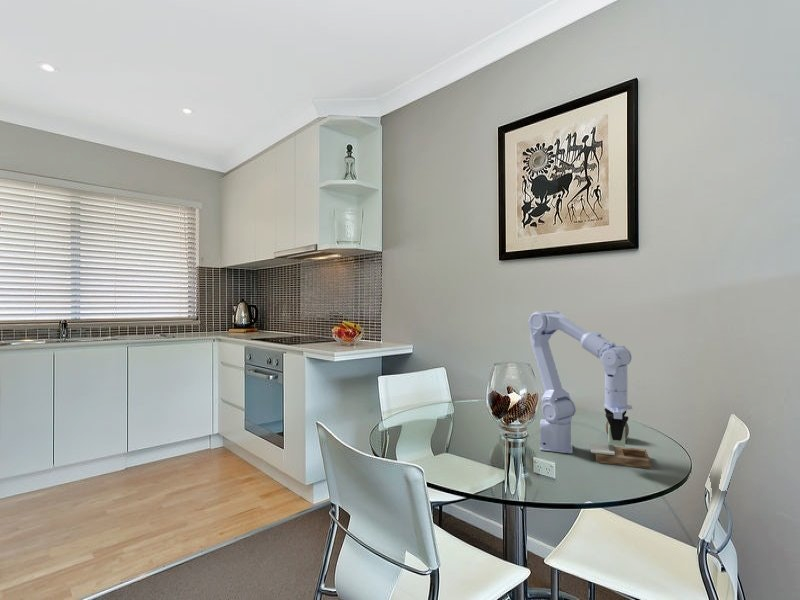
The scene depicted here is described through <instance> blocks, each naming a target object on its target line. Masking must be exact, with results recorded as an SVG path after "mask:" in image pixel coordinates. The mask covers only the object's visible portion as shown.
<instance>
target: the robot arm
mask: <svg viewBox="0 0 800 600" xmlns="http://www.w3.org/2000/svg"><path fill="white" fill-rule="evenodd" d="M527 324H528V325H527V326H528V328H529V342H530V344H531V348H532V352H533V356H534V358H535V359H534V360H535V362H536V363H535V364H536V365H537V370H538V373H539V375H540V376H539V377H540V379H541V383H542V386H543V389H544V393H543V395H542V397H541V398H540V400H541V414H542V416H543V418H544V419H543V418H541V419H540V420H539V421H540V422H539V423H540V424H539V425H540V426H539V443H540V444H539V450H541V451H546V452H554V453H563V454H573V443H572V420H573V418H572V417H573V416H575V414H576V411H577V408H576V404H575V402H574V401H573V400H572V398H571V396H570V393H569V392H567V391H566V390H565V389H563V386H562V383H561V380H560V376H559V374H558V370H557V367H556V363H555V360H554V356H553V353H552V350H551V346H550V344H549V343H550V342H549V340H550V339H551V337H552V336H553V335H554V334H555V333H556V332H557V331H561V332H563V333H565V334H566V335H568V336H570V337H571V338H573V339H575V340H577V341H578V342H580V343H581V344H580V345H581V347H582V349H584V350H585V351H586V352H588V353H590V354H591V355H593V356H594V357H596V358H598V359H599V360H600V363H601V365H602V366H603V372H604V404H603V407H604V412H605V418H606V421H608V422H609V425H610V429H611V435H612V439H613V440H619V441H621V439H622V435H623V430H624V427H625V424H626V422H627V423H628V420H629V416H626V415H627V411H628V410H633V406H632V405H631V404H628V365H629V364H630V363H631V362H632V354H631V351H630V350H629V349H628V348H627V347H626V346H624V345H616V342H614V341H610V340H609V339H606V338H605V337H603V336H602V333H600V332H597V331H596V332H595V331H590V332H588V331H586V330H584V329H583V328H581V327H580V326H579V325H578V324H576V322H573V321H572V320H571V319H569V318H567V316H566V314H563V313H561V312H560V311H558V310H556V309H555V310H549V311H548V310H547V311H534V312H533V313H531V315H530V317H529V318H528V320H527Z"/></svg>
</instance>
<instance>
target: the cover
mask: <svg viewBox="0 0 800 600" xmlns="http://www.w3.org/2000/svg"><path fill="white" fill-rule="evenodd" d="M607 441H608V440H607ZM614 446H615V445H609V441H608V442H607V443H605V442H595V441H589V447H590V449H589V450H590V453H592V454H595V453H599V454H608V455H615V452H614Z"/></svg>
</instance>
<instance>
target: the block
mask: <svg viewBox="0 0 800 600" xmlns="http://www.w3.org/2000/svg"><path fill="white" fill-rule="evenodd" d="M607 436H608V439H607V441H609V445H614V446H616V447H625V448H626V439H625V427H624V430H623V435H622V439H621V441H619V440H613V439H612V435H611V429H610V425H609V423H608V434H607Z"/></svg>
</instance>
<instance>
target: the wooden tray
mask: <svg viewBox="0 0 800 600" xmlns="http://www.w3.org/2000/svg"><path fill="white" fill-rule="evenodd" d="M614 452H615V455H608V454H599V453H594V455H595V463H601V464H609V465H618V466H623V467H624V466H627V467H634V468H642V469H649V470H651V466H652V465H651V459H650V457H649V453H648V452H647V450H646V449H643V448H642V449H641V448H636V447H635V448H633V447H626V446H625V447H623V446H615V445H614Z"/></svg>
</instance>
